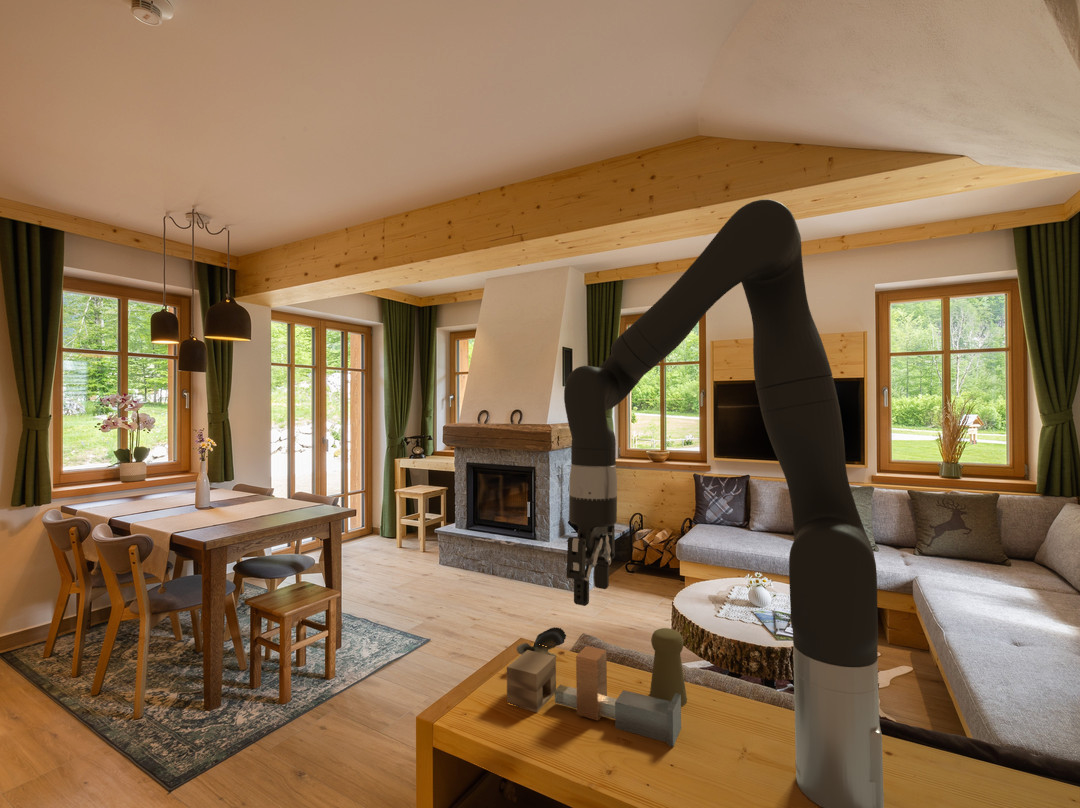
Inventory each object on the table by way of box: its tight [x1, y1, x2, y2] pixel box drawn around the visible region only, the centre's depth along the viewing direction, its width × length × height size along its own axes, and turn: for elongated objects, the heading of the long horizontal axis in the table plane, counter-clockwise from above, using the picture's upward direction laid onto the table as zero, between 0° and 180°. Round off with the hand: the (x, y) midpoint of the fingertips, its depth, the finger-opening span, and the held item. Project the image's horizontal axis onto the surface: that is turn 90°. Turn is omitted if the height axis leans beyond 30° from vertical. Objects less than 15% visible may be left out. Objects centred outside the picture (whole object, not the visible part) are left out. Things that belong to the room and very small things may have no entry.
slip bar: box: [554, 645, 617, 721], centre depth 81 cm, size 18×4×9 cm, turn 62°
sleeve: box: [614, 689, 682, 748], centre depth 78 cm, size 9×5×5 cm, turn 62°
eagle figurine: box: [516, 626, 567, 657], centre depth 99 cm, size 8×7×9 cm
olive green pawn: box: [649, 627, 688, 708], centre depth 87 cm, size 6×6×11 cm
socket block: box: [506, 650, 557, 713], centre depth 88 cm, size 6×7×6 cm
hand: (592, 595), depth 83 cm, fingers open, 8 cm apart
